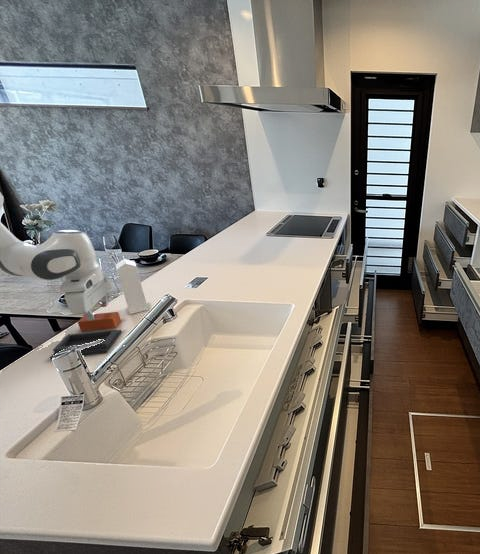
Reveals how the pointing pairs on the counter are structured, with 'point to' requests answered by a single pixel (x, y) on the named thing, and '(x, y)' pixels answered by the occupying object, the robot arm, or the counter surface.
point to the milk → (131, 286)
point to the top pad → (100, 321)
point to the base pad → (89, 337)
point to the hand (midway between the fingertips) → (98, 312)
